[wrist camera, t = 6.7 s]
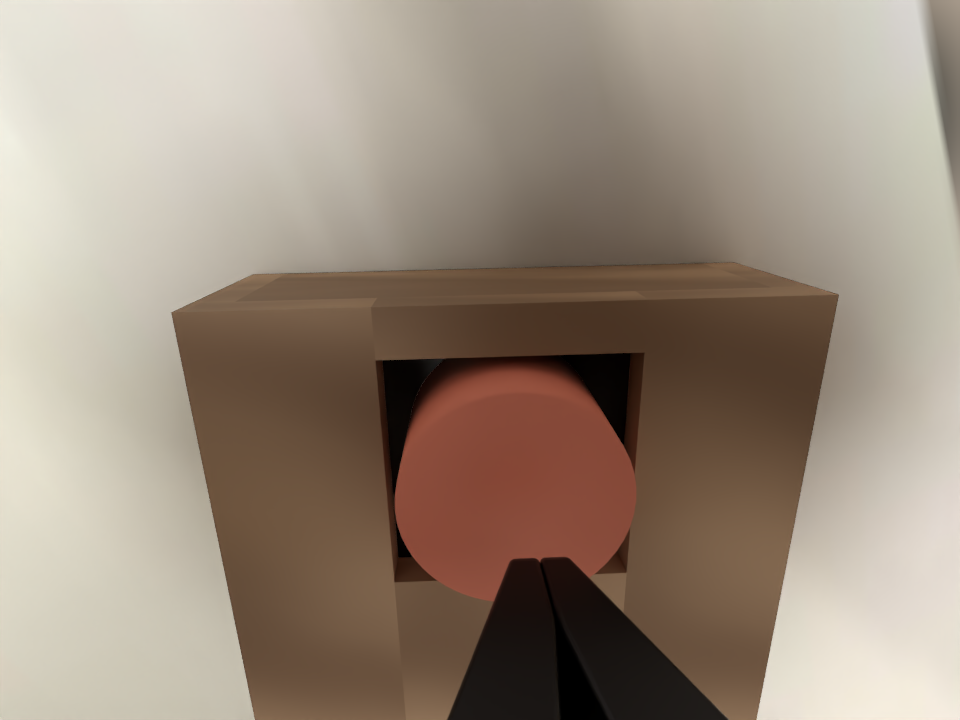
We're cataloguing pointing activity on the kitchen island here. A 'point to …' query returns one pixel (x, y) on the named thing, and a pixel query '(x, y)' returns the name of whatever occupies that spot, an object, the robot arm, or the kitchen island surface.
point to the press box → (368, 479)
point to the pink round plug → (510, 472)
